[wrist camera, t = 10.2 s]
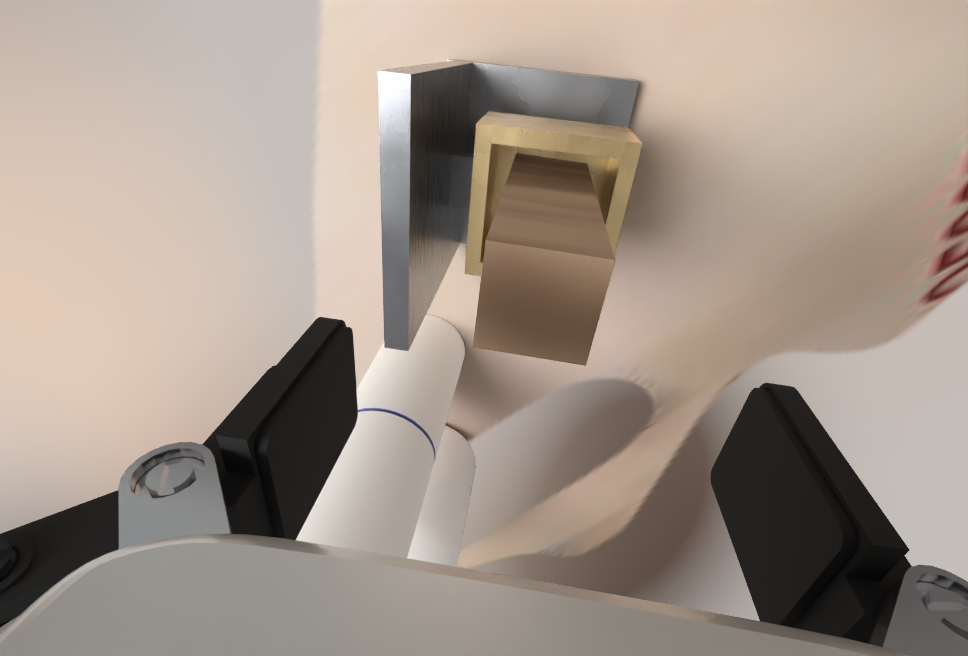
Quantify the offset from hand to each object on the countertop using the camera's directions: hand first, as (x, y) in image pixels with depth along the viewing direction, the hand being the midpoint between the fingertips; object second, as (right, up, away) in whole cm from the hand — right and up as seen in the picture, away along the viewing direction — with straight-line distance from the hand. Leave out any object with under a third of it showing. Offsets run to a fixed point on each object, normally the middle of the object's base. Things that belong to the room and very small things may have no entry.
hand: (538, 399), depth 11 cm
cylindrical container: (-7, 0, +32) cm, 32 cm away
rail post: (+2, +10, +16) cm, 19 cm away
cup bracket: (+2, +13, +22) cm, 26 cm away
